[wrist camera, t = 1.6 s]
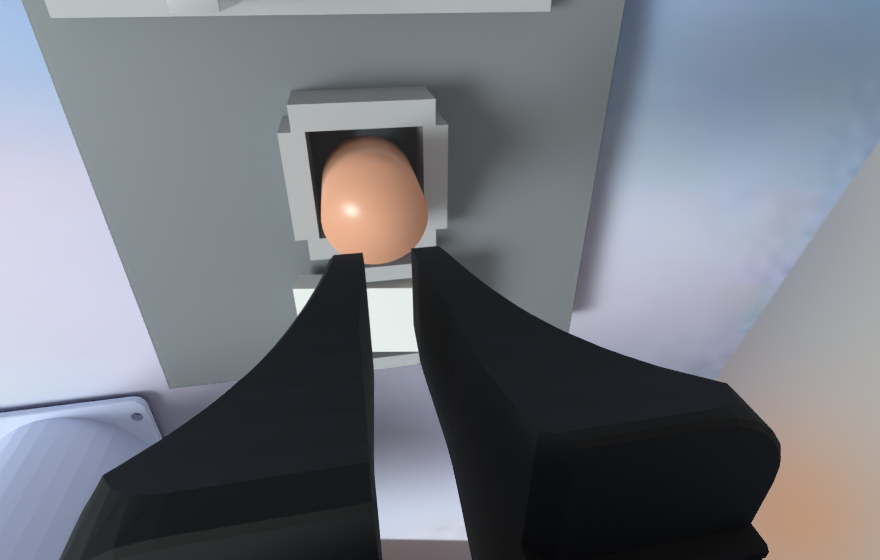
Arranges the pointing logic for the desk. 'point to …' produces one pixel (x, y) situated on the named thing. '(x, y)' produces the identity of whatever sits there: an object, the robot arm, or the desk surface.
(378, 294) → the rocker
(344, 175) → the push button
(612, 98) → the desk surface
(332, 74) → the panel
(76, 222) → the desk surface
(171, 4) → the grey boxy piece
